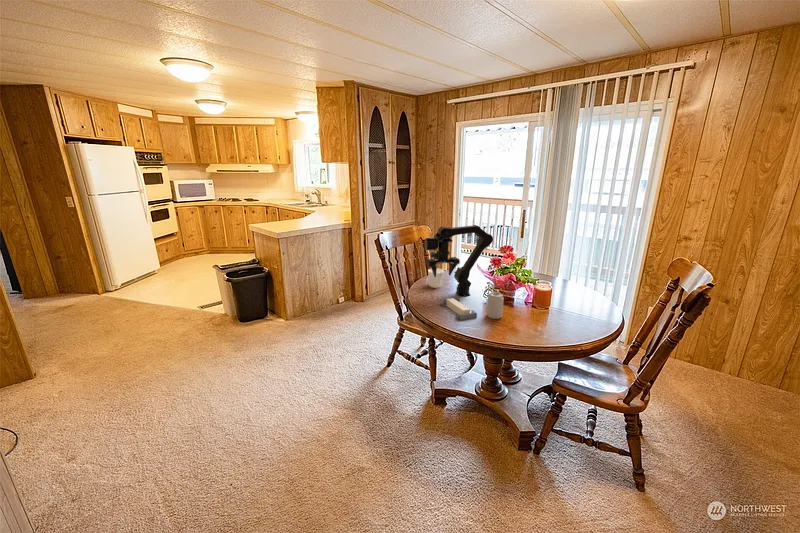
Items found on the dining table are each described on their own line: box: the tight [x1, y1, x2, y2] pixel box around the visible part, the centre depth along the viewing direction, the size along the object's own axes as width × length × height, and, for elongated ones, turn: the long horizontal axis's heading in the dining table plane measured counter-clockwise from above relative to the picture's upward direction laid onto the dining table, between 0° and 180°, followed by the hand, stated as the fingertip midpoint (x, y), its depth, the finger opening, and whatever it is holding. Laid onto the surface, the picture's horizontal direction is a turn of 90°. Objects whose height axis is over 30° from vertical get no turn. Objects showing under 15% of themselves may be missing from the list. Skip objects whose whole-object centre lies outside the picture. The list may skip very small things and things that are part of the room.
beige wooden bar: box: [445, 297, 471, 315], centre depth 172 cm, size 4×16×4 cm, turn 23°
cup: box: [427, 268, 445, 289], centre depth 208 cm, size 10×10×10 cm
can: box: [486, 291, 505, 320], centre depth 164 cm, size 8×8×12 cm
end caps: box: [439, 297, 478, 321], centre depth 172 cm, size 10×22×2 cm, turn 18°
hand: (442, 276), depth 189 cm, fingers open, 9 cm apart
